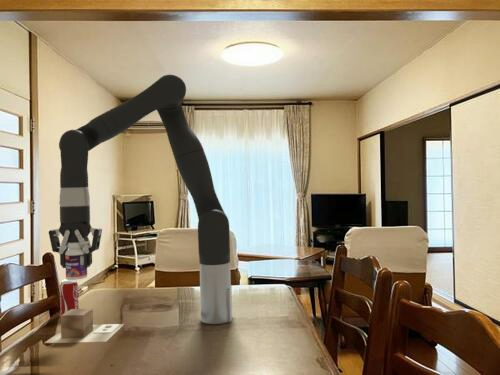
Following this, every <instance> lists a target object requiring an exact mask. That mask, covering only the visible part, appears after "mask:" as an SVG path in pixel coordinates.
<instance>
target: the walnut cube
mask: <svg viewBox="0 0 500 375" xmlns="http://www.w3.org/2000/svg"><path fill="white" fill-rule="evenodd" d="M93 310H94V309H93V308H79V309H71V310H69V311H67V312H66V313H64V314H62V315H61V314H60V331H61V339H64V338H85V337H86V336H87V335H88V334H89V333H91V332H92V331H93V325H94V319H93V318H94V316H93V314H94V313H93V312H94V311H93Z"/></svg>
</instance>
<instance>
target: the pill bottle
mask: <svg viewBox="0 0 500 375" xmlns="http://www.w3.org/2000/svg"><path fill="white" fill-rule="evenodd" d="M68 248H69V249H68V251H66V253H65V260H66V268H65V280H67V279H68V280H82V279H83V280H84V279H86V278H88V267H85V266H84V254H85V252H84V249H83V247H82V246H81V245H80V242H71V243H68Z"/></svg>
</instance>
